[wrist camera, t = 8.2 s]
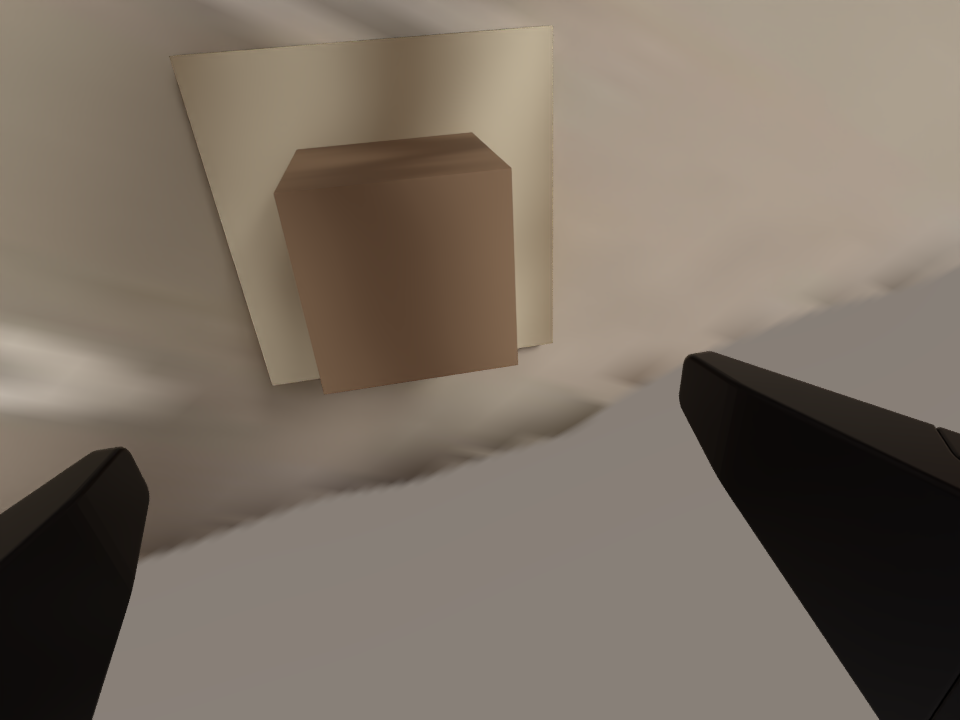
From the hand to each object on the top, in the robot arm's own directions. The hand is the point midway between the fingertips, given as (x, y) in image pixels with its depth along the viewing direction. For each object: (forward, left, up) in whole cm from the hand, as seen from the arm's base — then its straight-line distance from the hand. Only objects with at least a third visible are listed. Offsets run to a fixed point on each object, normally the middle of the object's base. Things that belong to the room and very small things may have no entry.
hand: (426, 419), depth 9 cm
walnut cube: (0, 0, -10) cm, 10 cm away
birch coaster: (0, 0, -11) cm, 11 cm away
